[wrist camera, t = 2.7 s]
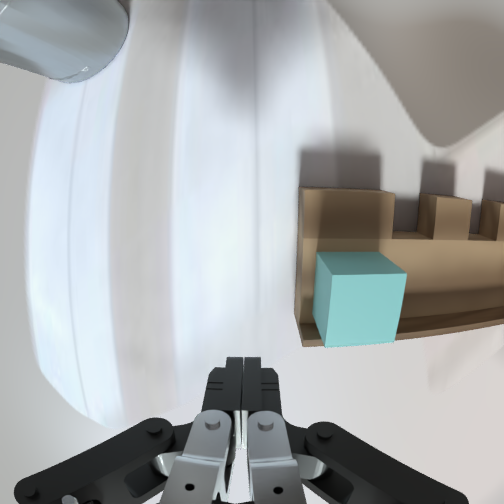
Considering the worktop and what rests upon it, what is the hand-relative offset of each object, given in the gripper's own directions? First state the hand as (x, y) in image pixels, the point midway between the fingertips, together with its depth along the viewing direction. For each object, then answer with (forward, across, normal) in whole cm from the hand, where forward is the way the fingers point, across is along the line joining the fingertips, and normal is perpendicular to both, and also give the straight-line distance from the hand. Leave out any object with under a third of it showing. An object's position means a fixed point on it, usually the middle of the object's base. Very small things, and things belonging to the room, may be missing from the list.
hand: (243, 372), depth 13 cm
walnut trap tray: (+14, -17, -2) cm, 22 cm away
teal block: (+10, -8, 0) cm, 13 cm away
